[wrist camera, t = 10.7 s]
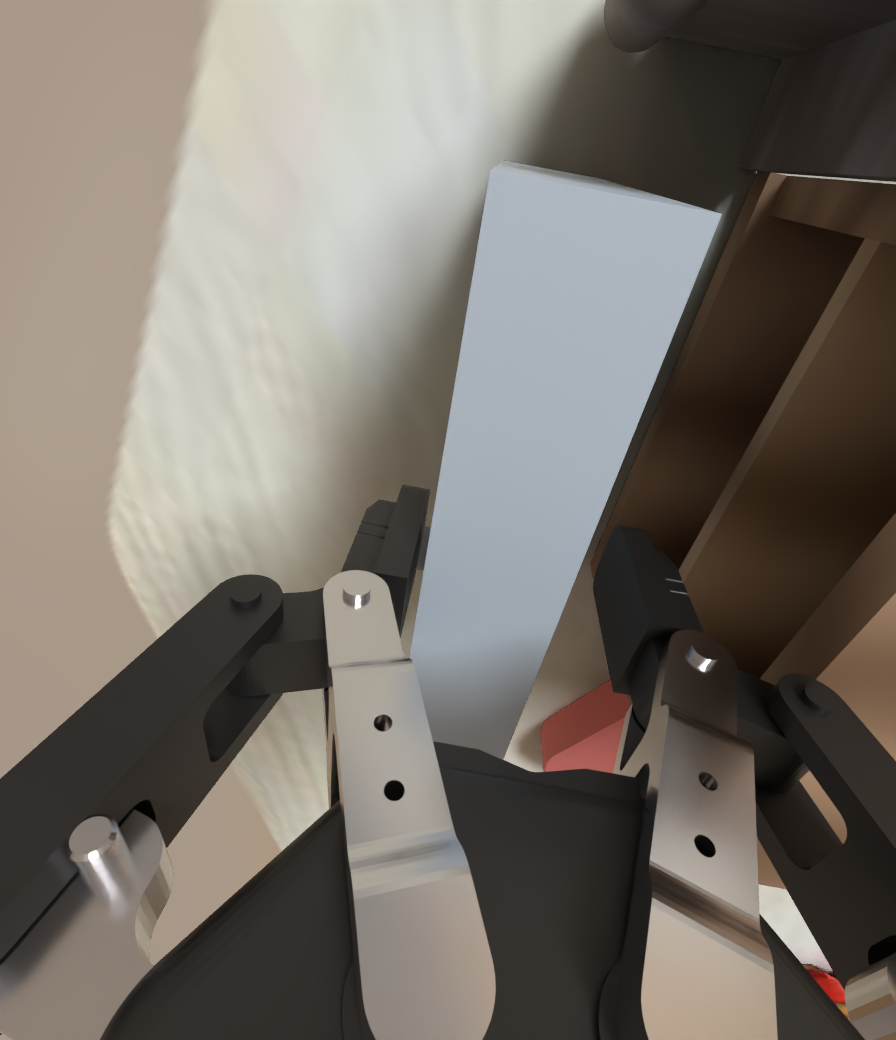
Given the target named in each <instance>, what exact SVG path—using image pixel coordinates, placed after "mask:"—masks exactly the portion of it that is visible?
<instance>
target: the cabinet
mask: <svg viewBox="0 0 896 1040" xmlns="http://www.w3.org/2000/svg"><path fill="white" fill-rule="evenodd" d="M604 21H605V27H606V31H607V34H608V36H609V38H610V40H611V41H612V42H613V44H614V45H615V46H616V47H618V48H619V49H621V50H623V51H625V52H630V53H636V52H641V51H644V50H646V49H648V48H650V47H651V46H653V45H654V44H655V43H657V42H658V41H659V40H660V39H662V38H663V37H664V36H666V37H671V38H676V39H681V40H686V41H691V42H696V43H701V44H706V45H711V46H716V47H721V48H726V49H731V50H736V51H741V52H746V53H751V54H756V55H761V56H766V57H771V58H776V59H781V63H780V65H779V68H778V70H777V73H776V75H775V78H774V80H773V83H772V85H771V88H770V90H769V92H768V95H767V97H766V100H765V102H764V105H763V107H762V110H761V112H760V115H759V117H758V120H757V122H756V125H755V127H754V130H753V132H752V134H751V137H750V139H749V142H748V144H747V147H746V149H745V152H744V154H743V157H742V159H741V162H740V164H739V167H738V168H742V169H747V170H752V171H757V173H756V176H755V178H754V181H753V183H752V185H751V188H750V190H749V192H748V195H747V197H746V199H745V202H744V204H743V206H742V209H741V211H740V214H739V216H738V218H737V221H736V223H735V225H734V228H733V230H732V232H731V235H730V237H729V239H728V242H727V244H726V247H725V249H724V251H723V254H722V256H721V258H720V261H719V263H718V265H717V268H716V270H715V272H714V275H713V277H712V279H711V282H710V284H709V287H708V289H707V291H706V294H705V296H704V298H703V301H702V303H701V305H700V308H699V310H698V312H697V315H696V317H695V320H694V322H693V324H692V327H691V329H690V331H689V334H688V336H687V338H686V341H685V343H684V345H683V348H682V350H681V352H680V355H679V357H678V360H677V362H676V364H675V367H674V369H673V371H672V374H671V376H670V378H669V381H668V383H667V385H666V388H665V390H664V393H663V395H662V397H661V400H660V402H659V404H658V407H657V409H656V411H655V414H654V416H653V418H652V421H651V423H650V426H649V428H648V430H647V433H646V435H645V437H644V440H643V442H642V444H641V447H640V449H639V451H638V454H637V456H636V458H635V461H634V463H633V466H632V468H631V470H630V473H629V475H628V477H627V480H626V482H625V484H624V487H623V489H622V491H621V494H620V496H619V499H618V501H617V503H616V506H615V508H614V510H613V513H612V515H611V517H610V520H609V522H608V524H607V527H606V529H605V531H604V534H603V536H602V539H601V541H600V543H599V546H598V548H597V550H596V553H595V555H594V557H593V560H592V562H591V564H590V565H591V570H592V576H593V578H594V576H595V572H596V569H597V566H598V564H599V561H600V559H601V557H602V554H603V552H604V549H605V547H606V545H607V542H608V540H609V537H610V535H611V533H612V530H613V529H614V527H615V526H616V525H624V526H629V527H635V528H640V529H646V530H647V531H648V533H649V535H650V538H651V541H652V543H653V546H654V549H655V550H656V551H662V552H664V553H665V554H666V555H667V556H668V557H669V558H670V560H671V561H672V562H673V563H674V564H675V565H676V566H677V568H678V571H679V573H680V576H681V578H682V583H683V584H684V585H685V588H686V590H687V595H688V596H689V598H690V600H691V602H692V605H693V607H694V610H695V612H696V615H697V617H698V619H699V622H700V624H701V627H702V629H703V631H704V634H706V635H708V636H710V637H712V638H714V639H715V640H717V641H718V642H720V643H721V644H722V645H723V646H724V647H725V648H726V649H727V650H728V651H729V652H730V653H731V655H732V656H733V658H734V660H735V662H736V665H737V669H738V670H741V671H743V672H745V673H747V674H749V675H752V676H754V677H757V678H759V679H761V680H764V681H766V682H768V683H771V684H773V685H776V684H777V682H778V681H779V680H780V679H781V678H782V677H783V676H784V675H787V674H801V675H805V676H808V677H811V678H813V679H816V680H818V681H819V682H821V683H823V684H825V685H826V686H828V687H829V688H830V689H832V690H833V691H834V692H835V693H837V694H838V695H839V696H840V697H841V698H842V699H843V700H844V701H845V703H846V704H847V705H848V706H849V707H850V708H851V710H852V711H853V712H854V713H855V714H856V715H857V717H858V718H859V719H860V720H861V721H862V722H863V724H864V725H865V726H866V727H867V728H868V729H869V731H870V732H871V733H872V734H873V735H874V736H875V738H876V739H877V740H878V741H879V742H880V743H881V745H882V746H883V747H884V748H885V749H886V750H887V752H888V753H889V754H890V755H891V756H892V757H893V758H894V760H895V761H896V185H895V184H883V183H870V182H858V181H845V180H833V179H821V178H808V177H796V176H786V175H781V174H776V173H784V174H798V175H812V176H826V177H839V178H853V179H867V180H881V181H894V182H896V0H606V2H605V8H604ZM628 699H629V704H630V706H631V704H632V700H631V696H630V695H628ZM799 781H800V782H801V784H802V785H803V786H804V788H805V789H806V791H807V792H808V794H809V795H810V797H811V798H812V800H813V801H814V803H815V804H816V805H817V807H818V808H819V810H820V811H821V813H822V814H823V816H824V817H825V819H826V820H827V822H828V823H829V824H830V826H831V827H832V829H833V830H834V832H835V833H836V835H837V836H838V838H839V839H840V841H841V842H842V843H843V844H844V843H845V841H846V838H847V829H846V825H845V822H844V820H843V818H842V816H841V814H840V813H839V811H838V810H837V808H836V807H835V805H834V804H833V803H832V801H831V800H830V798H829V797H828V796H827V794H826V793H825V791H824V790H823V789H822V787H821V786H820V784H819V783H818V782H817V780H816V779H815V777H814V776H813V775H812V773H811V772H810V771H808V772H807V773H806V774H805V775H804V776H803V777H802V778H801V779H800V780H799ZM757 861H758V884H761V885H766V886H772V887H777V888H782V889H786V887H785V885H784V884H783V882H782V880H781V878H780V877H779V875H778V873H777V871H776V870H775V868H774V866H773V864H772V863H771V861H770V859H769V857H768V856H767V854H766V852H765V850H764V849H763V847H762V845H761V843H760V842H759V840H758V838H757Z"/></svg>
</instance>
